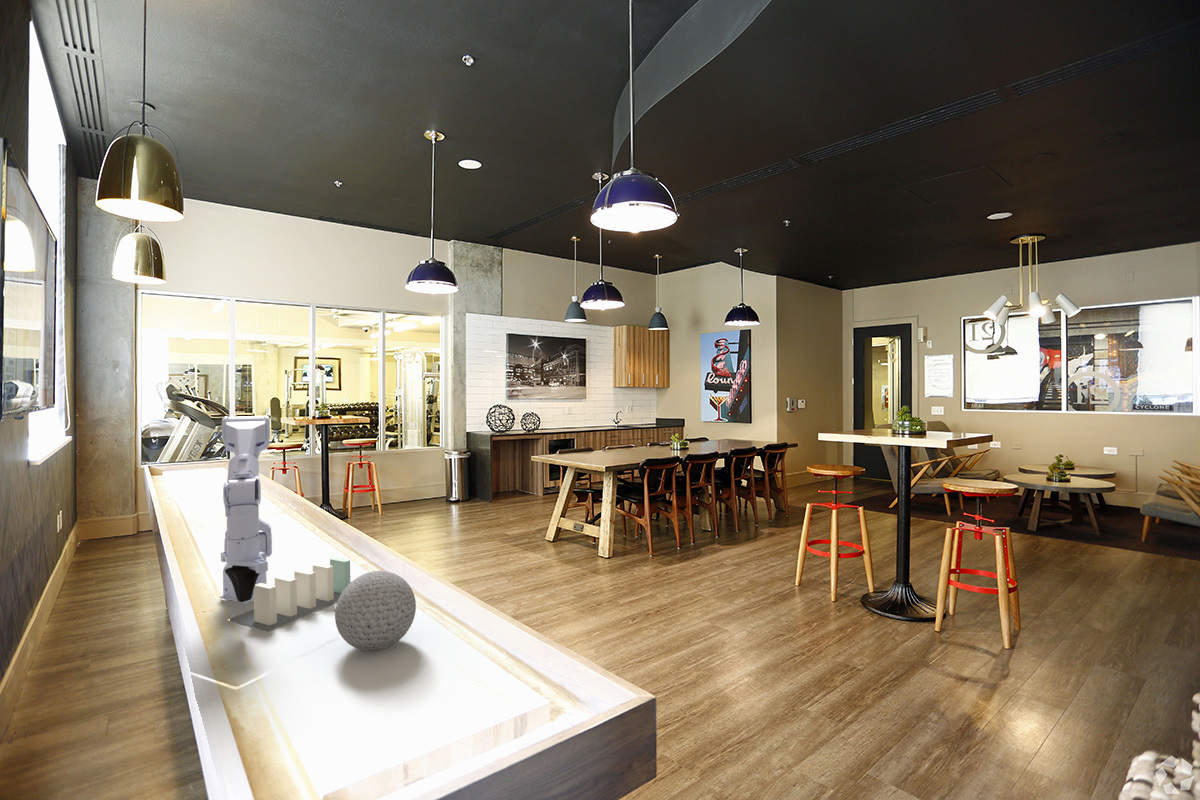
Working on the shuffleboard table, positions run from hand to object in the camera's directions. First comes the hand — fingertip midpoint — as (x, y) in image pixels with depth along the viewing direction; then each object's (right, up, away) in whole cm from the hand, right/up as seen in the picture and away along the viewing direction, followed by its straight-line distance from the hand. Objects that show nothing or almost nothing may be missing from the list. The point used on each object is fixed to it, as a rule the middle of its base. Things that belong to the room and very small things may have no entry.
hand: (244, 600), depth 124 cm
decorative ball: (+30, -7, -6) cm, 32 cm away
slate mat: (+5, -6, +16) cm, 18 cm away
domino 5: (+10, -6, +23) cm, 25 cm away
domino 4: (+8, -6, +18) cm, 21 cm away
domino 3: (+6, -6, +14) cm, 16 cm away
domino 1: (+2, -6, +4) cm, 8 cm away
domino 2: (+4, -6, +9) cm, 12 cm away
